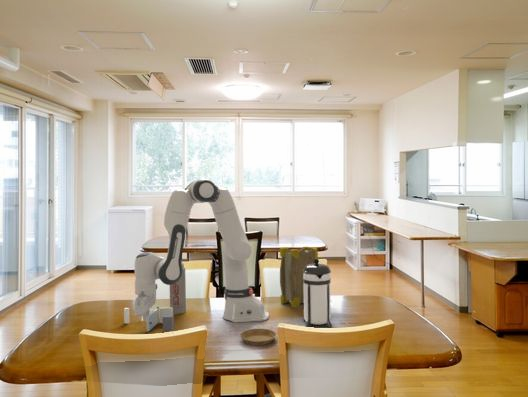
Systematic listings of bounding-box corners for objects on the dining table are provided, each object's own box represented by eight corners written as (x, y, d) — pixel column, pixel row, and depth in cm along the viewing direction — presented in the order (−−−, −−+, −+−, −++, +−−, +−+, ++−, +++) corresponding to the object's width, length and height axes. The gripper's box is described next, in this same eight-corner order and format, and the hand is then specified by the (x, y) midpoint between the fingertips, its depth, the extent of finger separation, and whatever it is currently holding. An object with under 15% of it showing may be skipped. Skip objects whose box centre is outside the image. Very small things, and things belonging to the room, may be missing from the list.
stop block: (174, 329, 189) (173, 314, 189) (172, 332, 185) (171, 317, 185) (165, 329, 189) (164, 314, 189) (162, 332, 185) (162, 317, 185)
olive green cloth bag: (307, 297, 241) (306, 244, 240) (320, 301, 232) (319, 246, 231) (278, 303, 230) (277, 248, 229) (291, 308, 220) (290, 250, 220)
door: (156, 322, 199) (156, 308, 199) (160, 322, 199) (159, 308, 199) (146, 331, 187) (146, 316, 187) (150, 331, 187) (150, 316, 187)
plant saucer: (273, 348, 166) (273, 341, 166) (236, 346, 169) (236, 340, 169) (278, 335, 181) (278, 329, 181) (244, 333, 183) (244, 327, 183)
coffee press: (341, 323, 195) (341, 258, 194) (319, 331, 184) (319, 262, 183) (312, 315, 207) (311, 254, 207) (290, 323, 196) (289, 258, 195)
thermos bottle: (180, 314, 211) (179, 258, 210) (166, 313, 214) (165, 258, 213) (189, 310, 219) (187, 256, 218) (175, 309, 222) (174, 255, 221)
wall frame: (172, 322, 200) (172, 306, 200) (172, 322, 199) (171, 307, 199) (125, 322, 200) (124, 306, 200) (124, 323, 199) (124, 307, 199)
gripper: (145, 295, 178) (146, 327, 178) (158, 283, 198) (159, 313, 199) (130, 295, 178) (131, 327, 179) (144, 284, 199) (145, 313, 199)
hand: (145, 320), depth 189 cm, fingers closed
